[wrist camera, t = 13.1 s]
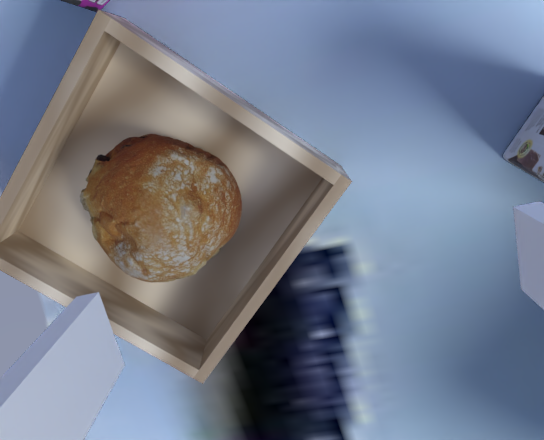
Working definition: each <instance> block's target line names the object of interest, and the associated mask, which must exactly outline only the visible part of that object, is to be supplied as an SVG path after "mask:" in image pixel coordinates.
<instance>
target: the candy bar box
mask: <svg viewBox="0 0 544 440" xmlns="http://www.w3.org/2000/svg"><path fill="white" fill-rule="evenodd" d="M61 1H65V2H67V3H70V4H74V5H77V6H80V7H83V8H86V9H89V10H92V11H95V12H97V11H98V10H101V9H102V8H103V7H104V6H105V5H106V4H107V3H108V2H109V1H110V0H61Z"/></svg>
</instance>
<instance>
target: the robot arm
mask: <svg viewBox="0 0 544 440" xmlns="http://www.w3.org/2000/svg"><path fill="white" fill-rule="evenodd" d="M513 210H514V221H515V231H516V242H517V252H518V263H519V273H520V284H521V290H522V291H523V292H525V293H526V294H527V295H528V296H529V297H530V298H531V299H532V300H533V301H534V302H536V303H537V304H538V305H539V306H540V307H541V308H542V309H543V310H544V203H542V202H540V201H537V202H533V203H528V204H523V205H518V206H513ZM124 366H125V364H124V361H123V359H122V356H121V353H120V350H119V347H118V344H117V342H116V339H115V336H114V333H113V330H112V328H111V325H110V322H109V319H108V316H107V314H106V311H105V308H104V305H103V302H102V300H101V297H100V294H99V292H97V293H92V294H87V295H82V296H77V297H76V298H75V299H74V300H73V301H72V302H71V303H70V304H69V305H68V306H67V307H66V308H65V309H64V310H63V312H62V313H61V314H60V315H59V316H58V317H57V318H56V319H55V320H54V321H53V322H52V323H51V324H50V325H49V327H48V328H47V329H46V330H45V331H44V332H43V333H42V334H41V335H40V336H39V337H38V338H37V339H36V340H35V341H34V343H33V344H32V345H31V346H30V347H29V348H28V349H27V350H26V351H25V352H24V353H23V354H22V355H21V356H20V358H19V359H18V360H17V361H16V362H15V363H14V364H13V365H12V366H11V367H10V368H9V370H7V371H6V373H5V374H4V375H3V376H2V377H1V378H0V440H84V439H85V437H86V435H87V433H88V432H89V430H90V428H91V426H92V424H93V423H94V421H95V419H96V417H97V415H98V413H99V412H100V410H101V408H102V406H103V404H104V402H105V401H106V399H107V397H108V395H109V393H110V392H111V390H112V388H113V386H114V384H115V382H116V381H117V379H118V377H119V375H120V373H121V371H122V370H123V368H124Z"/></svg>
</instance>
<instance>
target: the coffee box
mask: <svg viewBox="0 0 544 440" xmlns="http://www.w3.org/2000/svg"><path fill="white" fill-rule="evenodd" d="M503 158H504V159H505V160H506V161H508V162H509V163H511V164H513V165H514V166H516V167H518V168H519V169H521V170H523V171H525V172H526V173H528V174H530V175H531V176H533V177H535V178H537V179H538V180H540V181H542V182H544V96H543V97H542V99H541V100H540V102H539V103H538V105H537V106H536V107H535V109H534V110H533V112H532V113H531V115H530V116H529V117H528V119H527V120H526V122H525V123H524V125H523V126H522V127H521V129H520V130H519V132H518V133H517V135H516V136H515V137H514V139H513V140H512V142H511V143H510V145H509V146H508V148H507V149H506V151H505V152H504V154H503Z"/></svg>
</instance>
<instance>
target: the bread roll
mask: <svg viewBox="0 0 544 440" xmlns="http://www.w3.org/2000/svg"><path fill="white" fill-rule="evenodd" d="M86 181H87V182H88V184H87V186H86V188H85V189H83V190H82V191H81V194H80V202H81V203H82V205H83V208H84V209H85V210H86V211H88V212H89V214H90V217H91V219H90V221H91V223H92V233H93V236H94V238H95V240H96V241H97V242H98V243H99V245H100V246H101V248H102V249H103V250H104V252H105V253H106V254H107V256H108V257H109V258H110V260H111V261H112V262H113V263H114V264H115V265H116V266H117V267H118V268H120V269H121V270H122V271H123V272H125V273H126V274H127V275H129V276H131V277H133V278H136V279H138V280H141V281H145V282H151V283H153V282H169V281H174V280H176V279H181V278H186V277H189V276H192V275H195V274H196V272H197V271H198V270H199V269H200V268H202V267H203V266H204V265H206V261H208V260H209V259H211V258H213V257H215V256H216V255H217V254H218V253H219V252H220V250H221V248H222V247H223V245H225V244H226V243H227V242H228V241H229V240H230V239H231V238H232V237H233V236H234V234H235V232H236V230H237V228H238V226H239V223H240V219H241V215H242V199H241V193H240V190H239V187H238V184H237V182H236V180H235V178H234V176H233V174H232V173H231V171H230V170H229V168H228V167H227V166H226V164H224V163H223V162H222V161H221V160H220V159H219V158H218V157H216V156H214V155H212V154H211V153H209V152H206V151H204V150H202V149H201V148H196V147H194V146H192V145H191V144H189V143H187V142H183V141H181V140H178V139H173V138H171V137H167V136H161V135H157V134H147V135H143V136H141V137H129V138H127V139H125V140H122V142H121V143H119V144H118V145H116V146H115V147H114V149H112V150H111V151H110V152H108V153H107V154H106V155H102V154H101V155H98V156H97V157H96V159H95V163H94V165H93V168H92V170H90V173H89V175H88V177H87V178H86Z"/></svg>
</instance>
